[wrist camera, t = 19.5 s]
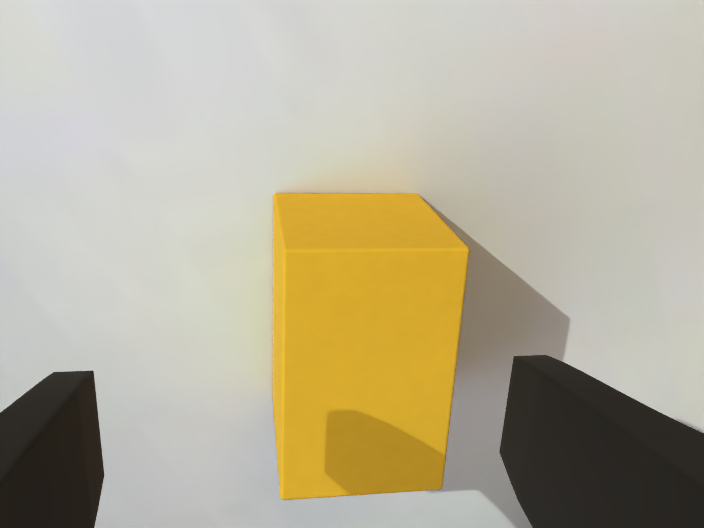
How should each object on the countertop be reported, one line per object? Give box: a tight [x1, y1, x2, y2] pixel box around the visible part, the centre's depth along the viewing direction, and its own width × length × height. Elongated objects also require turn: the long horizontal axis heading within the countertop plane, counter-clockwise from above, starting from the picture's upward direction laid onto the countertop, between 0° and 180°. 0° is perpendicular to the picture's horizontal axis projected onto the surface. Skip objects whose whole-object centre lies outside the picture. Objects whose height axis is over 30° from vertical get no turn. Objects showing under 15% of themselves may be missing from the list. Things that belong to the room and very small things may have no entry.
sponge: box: [273, 193, 469, 500], centre depth 19 cm, size 4×7×5 cm, turn 178°
